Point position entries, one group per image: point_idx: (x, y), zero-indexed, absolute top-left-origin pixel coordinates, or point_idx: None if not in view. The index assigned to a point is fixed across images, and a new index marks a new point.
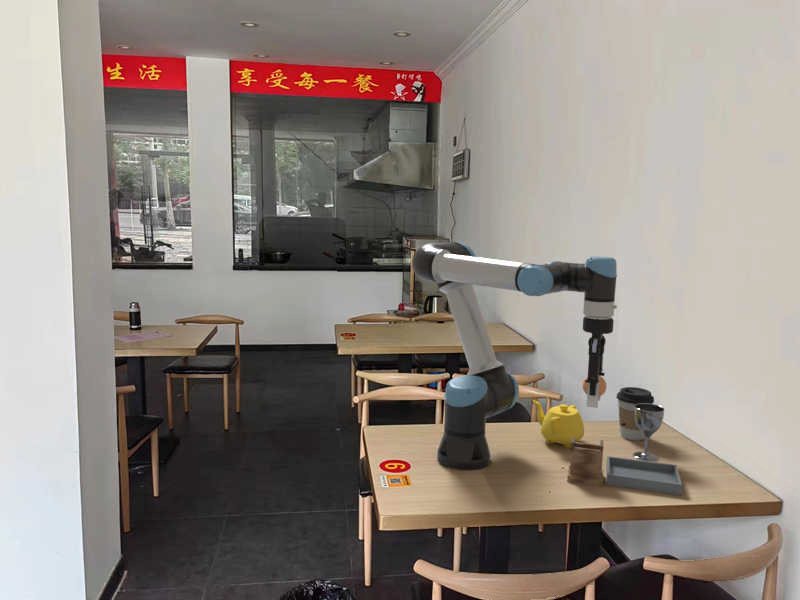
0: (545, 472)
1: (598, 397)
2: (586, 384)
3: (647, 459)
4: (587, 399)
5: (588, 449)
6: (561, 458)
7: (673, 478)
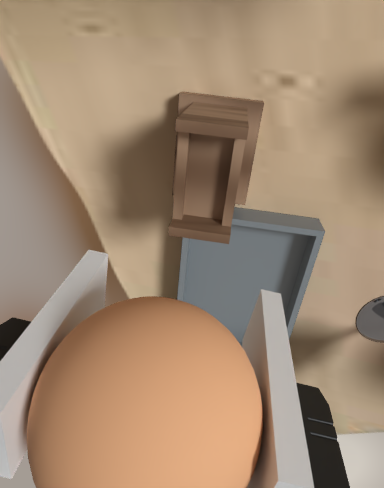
0: (236, 12)
1: (244, 349)
2: (54, 367)
3: (363, 319)
4: (65, 282)
5: (176, 180)
6: (372, 80)
7: (241, 339)
